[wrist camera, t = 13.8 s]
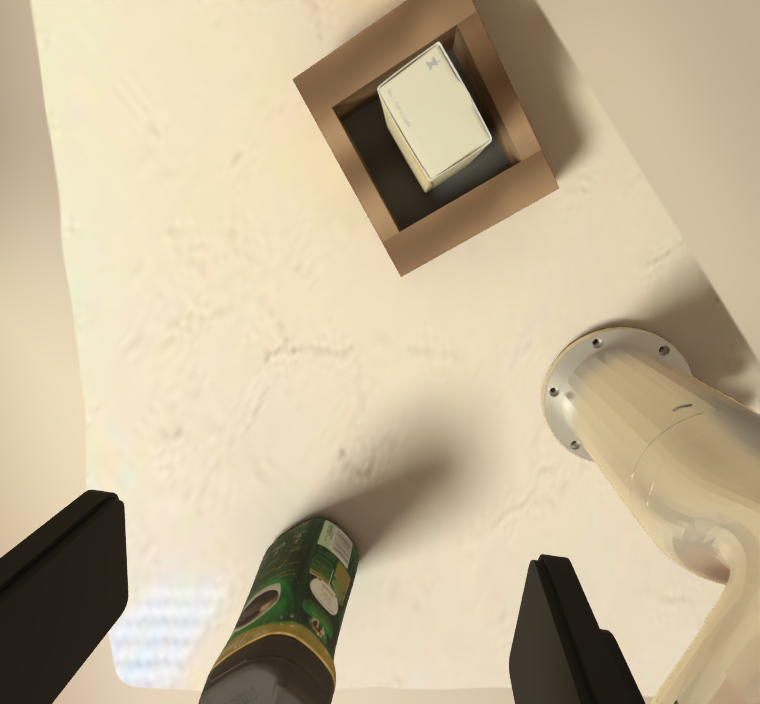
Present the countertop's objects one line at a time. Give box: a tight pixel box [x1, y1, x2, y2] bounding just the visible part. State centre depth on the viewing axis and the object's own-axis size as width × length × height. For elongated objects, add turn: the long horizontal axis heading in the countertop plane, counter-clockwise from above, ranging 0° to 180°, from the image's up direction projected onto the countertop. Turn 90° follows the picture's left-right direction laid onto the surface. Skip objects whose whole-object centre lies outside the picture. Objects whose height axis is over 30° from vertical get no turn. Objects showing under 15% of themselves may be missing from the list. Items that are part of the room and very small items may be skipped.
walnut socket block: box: [293, 0, 559, 277], centre depth 37 cm, size 16×13×5 cm
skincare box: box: [377, 41, 492, 193], centre depth 33 cm, size 6×4×12 cm
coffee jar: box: [199, 518, 359, 704], centre depth 41 cm, size 10×8×19 cm
